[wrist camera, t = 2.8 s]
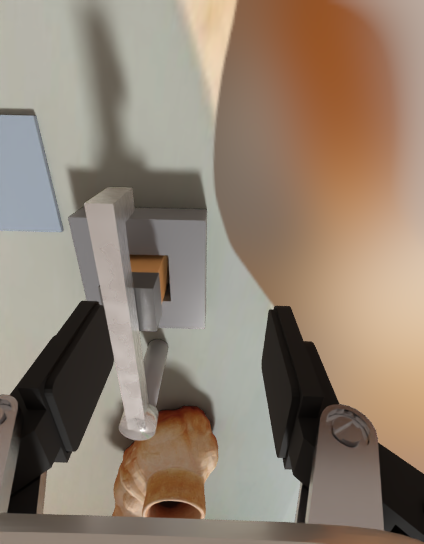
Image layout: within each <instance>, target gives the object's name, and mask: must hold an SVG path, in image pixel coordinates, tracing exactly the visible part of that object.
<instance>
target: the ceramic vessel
mask: <svg viewBox="0 0 424 544" xmlns="http://www.w3.org/2000/svg"><path fill="white" fill-rule="evenodd" d="M158 413H159V416H158V421H157V426H156V431H155V434H154V436H153V437H152V438H150V439H147V440H142V441H138V440H135V441H134V442H133V443H132V444H131V446H130V447H128V448H127V449H126V450H125V451H124V455H123V461H122V463H121V465H120V468H119V471H118V475H117V478H116V481H115V484H114V498H115V510H114V512H113V515H112V516H121V517H153V518H183V519H204V518H205V512H206V508H205V495H204V483H205V481H206V479H207V478H208V476H209V474H210V473H211V472H212V471H213V470H214V468H215V467H216V464H217V461H218V445H217V440H216V437H215V436H214V435H213V433H212V430H211V425H210V421H209V420H208V418H207V417H206V416H205V413H204V411H203V410H201V409H200V408H198V407H194V406H183V407H181V408H179V409H176V410H161V411H159V412H158Z"/></svg>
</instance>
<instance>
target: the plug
mask: <svg viewBox="0 0 424 544" xmlns="http://www.w3.org/2000/svg"><path fill="white" fill-rule="evenodd" d="M129 256H130V264H131V271H132V279H133V287H134V294H135V302H136V310H137V317H138V325H139V331H155V332H157V330H158V327H159V323H160V319H161V316H162V302H163V299H164V295H165V292H166V289H167V285H168V282H169V263H168V255H130V254H129ZM98 289H99V294H100V299H101V304H102V305H103V306H104V304H103V299H102V294H101V288H100V285H99V287H98ZM107 325H108V324H107ZM108 330H109V329H108Z"/></svg>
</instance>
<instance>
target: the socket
mask: <svg viewBox="0 0 424 544" xmlns="http://www.w3.org/2000/svg"><path fill="white" fill-rule="evenodd" d="M68 220H69V225H70V229H71V233H72V238H73V242H74V247H75V251H76V255H77V260H78V264H79V269H80V273H81V277H82V282H83V286H84V291H85V295H86V299H87V301H98V302H99V304H100V305H102V304H101V299H100V294H99V289H98V287H99V285H100V283H99V278H98V273H97V268H96V263H95V258H94V253H93V248H92V242H91V237H90V232H89V227H88V222H87V217H86V212H85V207H82V208H81V209H79V210H78V211H76V212H75V213H73V214H72V215H71V216H69V217H68ZM125 225H126V233H127V241H128V248H129V254H130V255H168V258H169V275H170V284H168V285H167V289H166V292H165V295H164V299H163V302H162V316H161V319H160V323H159V327H158V328H188V329H205V316H206V256H207V209H176V208H135V211H134V213H133V214H132V215H131V216H130V217H129V219H128V220H127V221H126V222H125ZM167 353H168V344H167V343H166V342H165V341H163V340H160V339H155V340H152V341H150V342H149V344H148V348H147V351H146V354H145V357H144V361H143V363H144V371H145V379H146V386H147V394H148V402H149V404H151V405H153V406H154V407H155V408H156V405H157V400H158V395H159V390H160V386H161V381H162V376H163V371H164V367H165V362H166V357H167Z"/></svg>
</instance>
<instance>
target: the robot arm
mask: <svg viewBox="0 0 424 544" xmlns="http://www.w3.org/2000/svg"><path fill="white" fill-rule="evenodd" d="M113 362H114V355H113V350H112V345H111V340H110V335H109V330H108V325H107V319H106V314H105V309H104V306H103V305H100V304H99V302H98V301H81V302H80V303H79V305H78V306H77V307H76V309H75V310H74V311H73V313H72V314H71V316H70V317H69V318H68V320H67V321H66V322H65V324H64V325H63V327H62V328H61V329H60V331H59V332H58V333H57V335H55V336H54V337H53V338H52V339H51V340H50V341H49V343H48V344H47V346H46V347H45V348H44V350H43V351H42V352H41V354H40V355H39V356H38V358H37V359H36V360H35V362H34V363H33V364H32V366H31V367H30V368H29V370H28V371H27V373H26V374H25V375H24V377H23V378H22V379H21V381H20V382H19V383H18V385H17V386H16V387H15V389H14V390H13V391H12V393H11V394H10V395H4V394H2V395H0V544H424V474H423V473H421V472H420V471H419V470H417V469H416V468H414V467H413V466H411V465H410V464H408V463H407V462H406V461H404V460H403V459H401V458H400V457H398V456H397V455H395V454H394V453H392V452H391V451H390V450H388V449H387V448H385V447H384V446H382V445H381V444H379V443H378V438H377V433H376V430H375V428H374V426H373V425H372V423H371V422H370V421H369V419H367V417H366V416H365V415H363V414H362V413H361V412H359V411H358V410H356V409H354V408H352V407H350V406H346V405H342V404H339V402H338V400H337V398H336V395H335V393H334V390H333V388H332V386H331V383H330V381H329V378H328V376H327V373H326V371H325V369H324V366H323V364H322V362H321V359H320V357H319V354H318V352H317V349H316V347H315V345H314V343H313V342H307V341H303V339H302V336H301V334H300V331H299V328H298V326H297V323H296V320H295V318H294V315H293V312H292V310H291V307H290V306H275V307H274V310H269V313H268V320H267V327H266V334H265V341H264V348H263V356H262V373H263V379H264V385H265V391H266V397H267V402H268V408H269V414H270V420H271V426H272V432H273V438H274V443H275V449H276V454H277V457H278V458H283V463H284V468H285V469H292V472H293V475H294V476H295V477H296V478H297V479H298V480H299V481H300V482H301V483H300V490H299V497H298V503H297V510H296V517H295V523H290V522H265V521H238V520H211V519H183V518H153V517H121V516H89V515H52V514H43V507H44V497H45V487H46V476H47V470H48V469H50V468H51V467H52V465H53V463H54V462H68V460H69V458H70V455H71V453H72V451H74V452H75V451H76V450H77V449H78V447H79V445H80V443H81V440H82V438H83V436H84V433H85V431H86V429H87V426H88V424H89V421H90V419H91V417H92V414H93V412H94V409H95V407H96V405H97V402H98V400H99V397H100V395H101V393H102V390H103V388H104V385H105V383H106V381H107V378H108V376H109V374H110V371H111V369H112V366H113Z"/></svg>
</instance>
